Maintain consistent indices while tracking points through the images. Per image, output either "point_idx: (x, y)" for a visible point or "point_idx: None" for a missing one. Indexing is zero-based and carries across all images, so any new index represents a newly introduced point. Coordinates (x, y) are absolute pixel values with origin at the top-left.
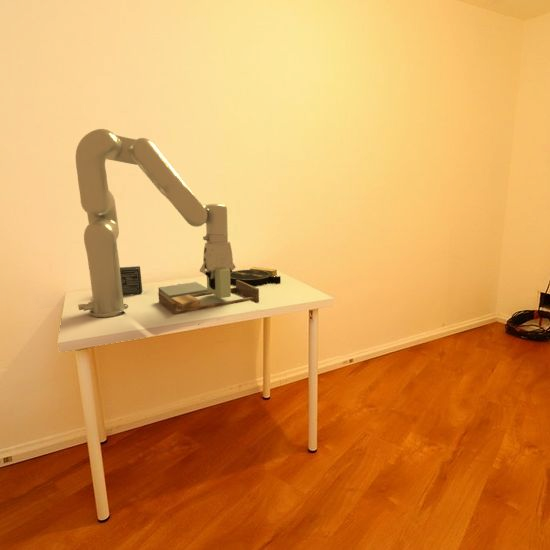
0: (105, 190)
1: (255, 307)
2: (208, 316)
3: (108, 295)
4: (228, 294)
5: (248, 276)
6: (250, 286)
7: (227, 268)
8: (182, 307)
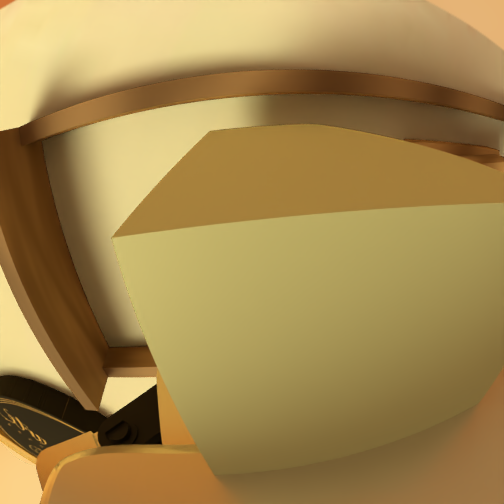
0: None
1: (88, 16)
2: (413, 15)
3: None
4: (233, 129)
5: (56, 438)
6: (3, 234)
7: (177, 460)
8: (501, 156)
